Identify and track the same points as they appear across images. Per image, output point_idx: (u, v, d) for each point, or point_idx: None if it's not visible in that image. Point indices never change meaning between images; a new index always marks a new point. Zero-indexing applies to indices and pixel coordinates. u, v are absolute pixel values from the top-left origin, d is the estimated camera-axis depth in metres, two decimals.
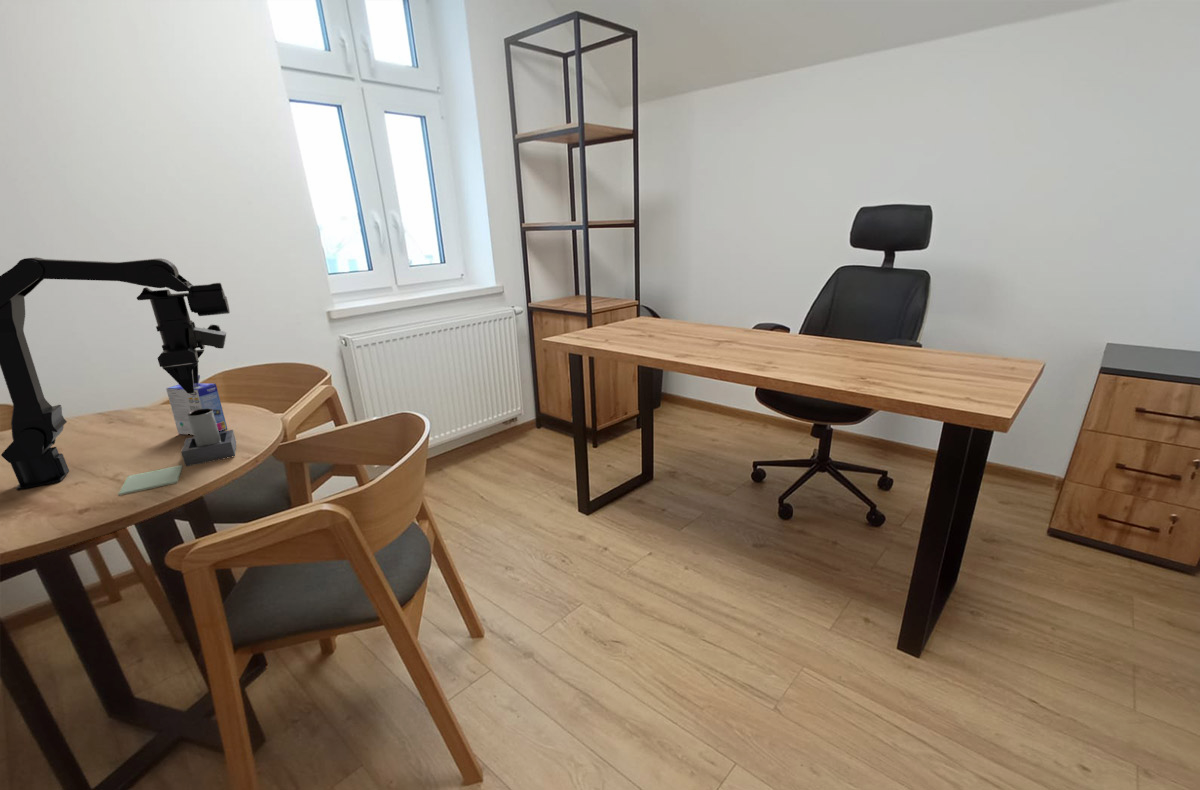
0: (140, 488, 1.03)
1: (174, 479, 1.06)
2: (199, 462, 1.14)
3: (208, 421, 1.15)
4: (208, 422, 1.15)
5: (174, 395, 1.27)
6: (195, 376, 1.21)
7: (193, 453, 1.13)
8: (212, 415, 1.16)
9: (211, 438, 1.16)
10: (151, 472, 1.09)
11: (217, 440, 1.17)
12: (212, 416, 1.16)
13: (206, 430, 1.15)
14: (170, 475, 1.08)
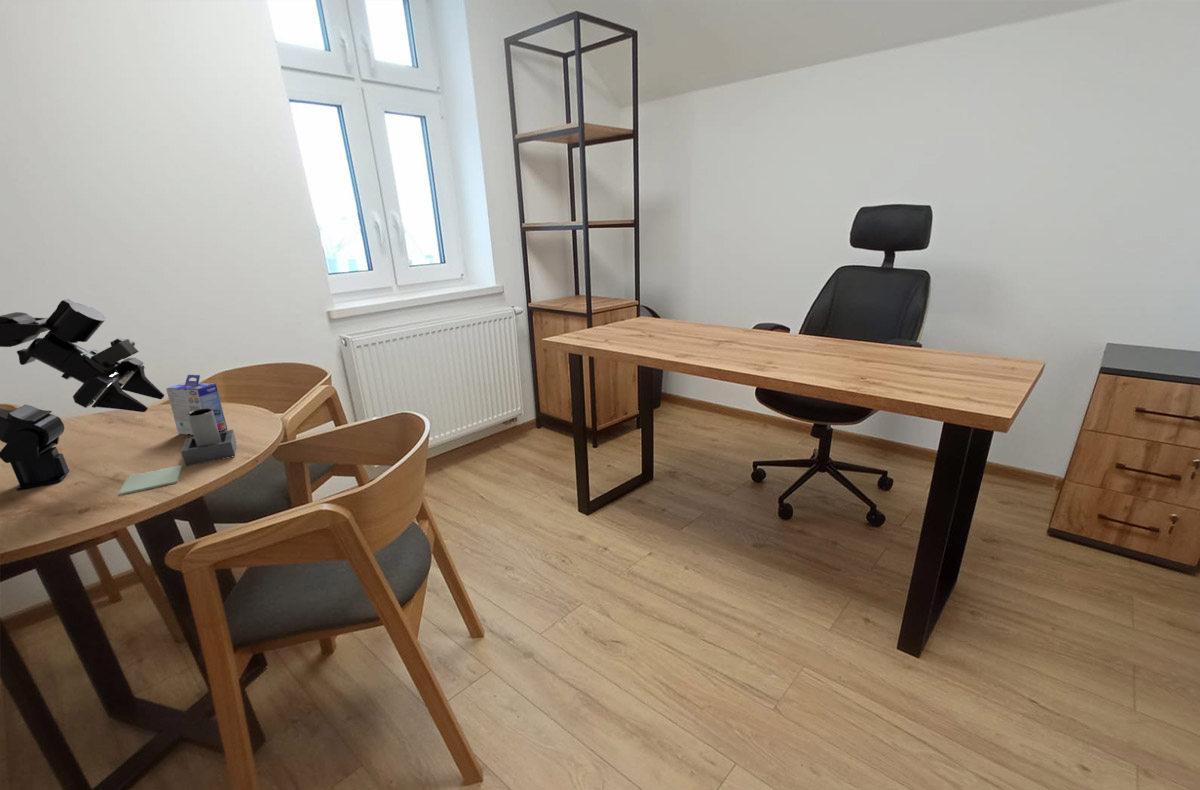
0: (140, 488, 1.03)
1: (174, 479, 1.06)
2: (199, 462, 1.14)
3: (208, 421, 1.15)
4: (208, 422, 1.15)
5: (174, 395, 1.27)
6: (156, 392, 1.15)
7: (193, 453, 1.13)
8: (212, 415, 1.16)
9: (211, 438, 1.16)
10: (151, 472, 1.09)
11: (217, 440, 1.17)
12: (212, 416, 1.16)
13: (206, 430, 1.15)
14: (170, 475, 1.08)
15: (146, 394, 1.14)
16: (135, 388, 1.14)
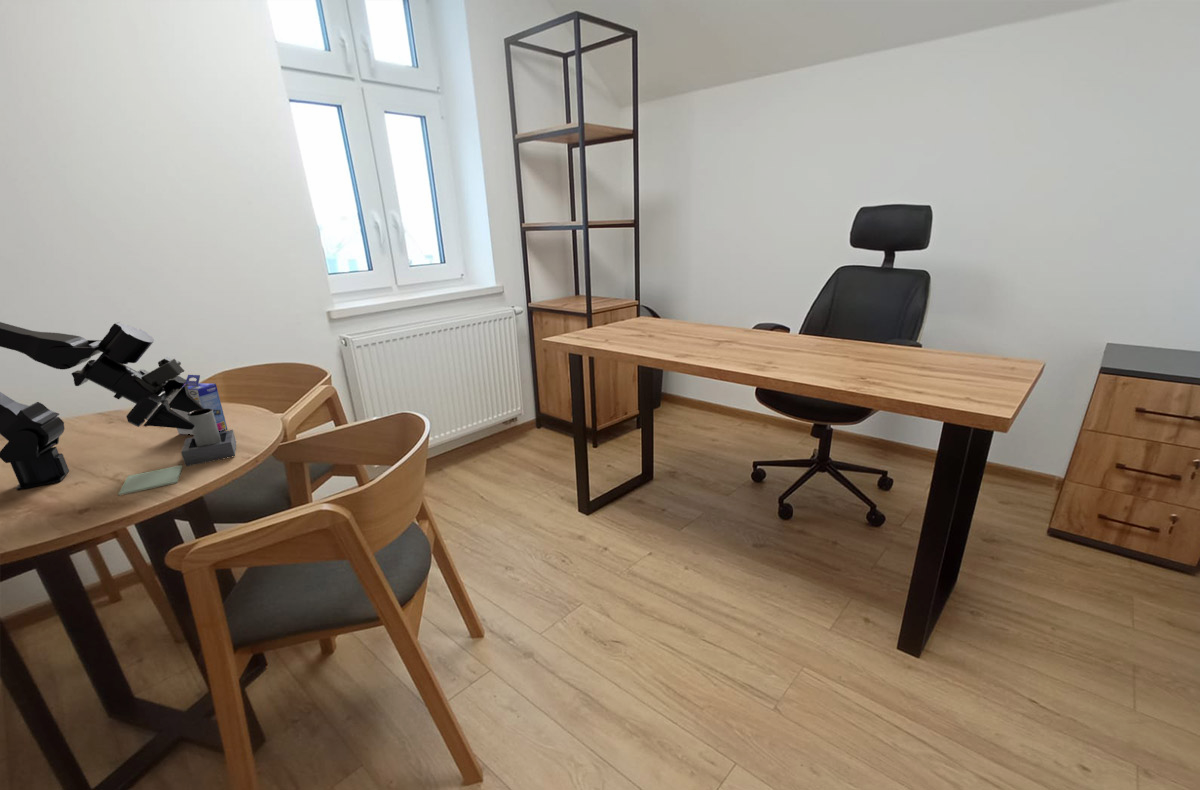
0: (140, 488, 1.03)
1: (174, 479, 1.06)
2: (199, 462, 1.14)
3: (208, 421, 1.15)
4: (208, 422, 1.15)
5: None
6: None
7: (193, 453, 1.13)
8: (212, 415, 1.16)
9: (211, 438, 1.16)
10: (151, 472, 1.09)
11: (217, 440, 1.17)
12: (212, 416, 1.16)
13: (206, 430, 1.15)
14: (170, 475, 1.08)
15: (190, 411, 1.18)
16: (180, 406, 1.18)
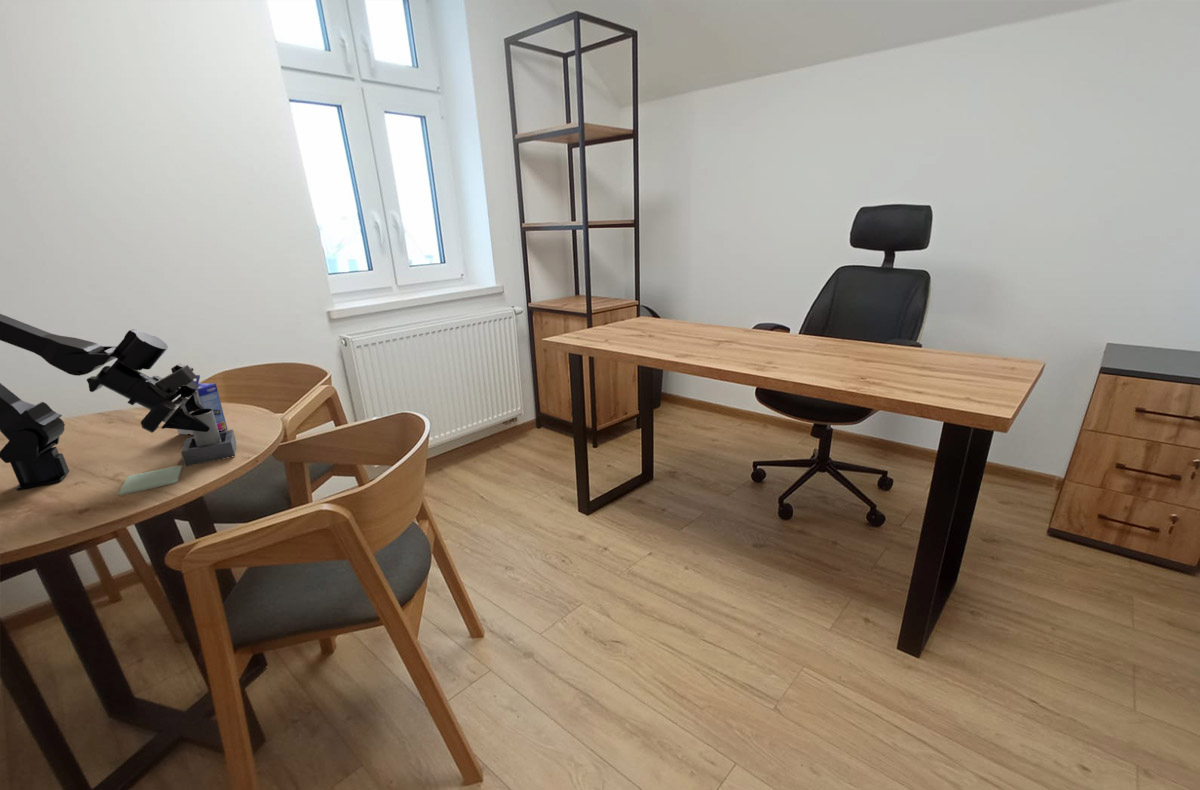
0: (140, 488, 1.03)
1: (174, 479, 1.06)
2: (199, 462, 1.14)
3: (208, 421, 1.15)
4: (208, 422, 1.15)
5: None
6: None
7: (193, 453, 1.13)
8: (212, 415, 1.16)
9: (211, 438, 1.16)
10: (151, 472, 1.09)
11: (217, 440, 1.17)
12: (212, 416, 1.16)
13: None
14: (170, 475, 1.08)
15: None
16: None
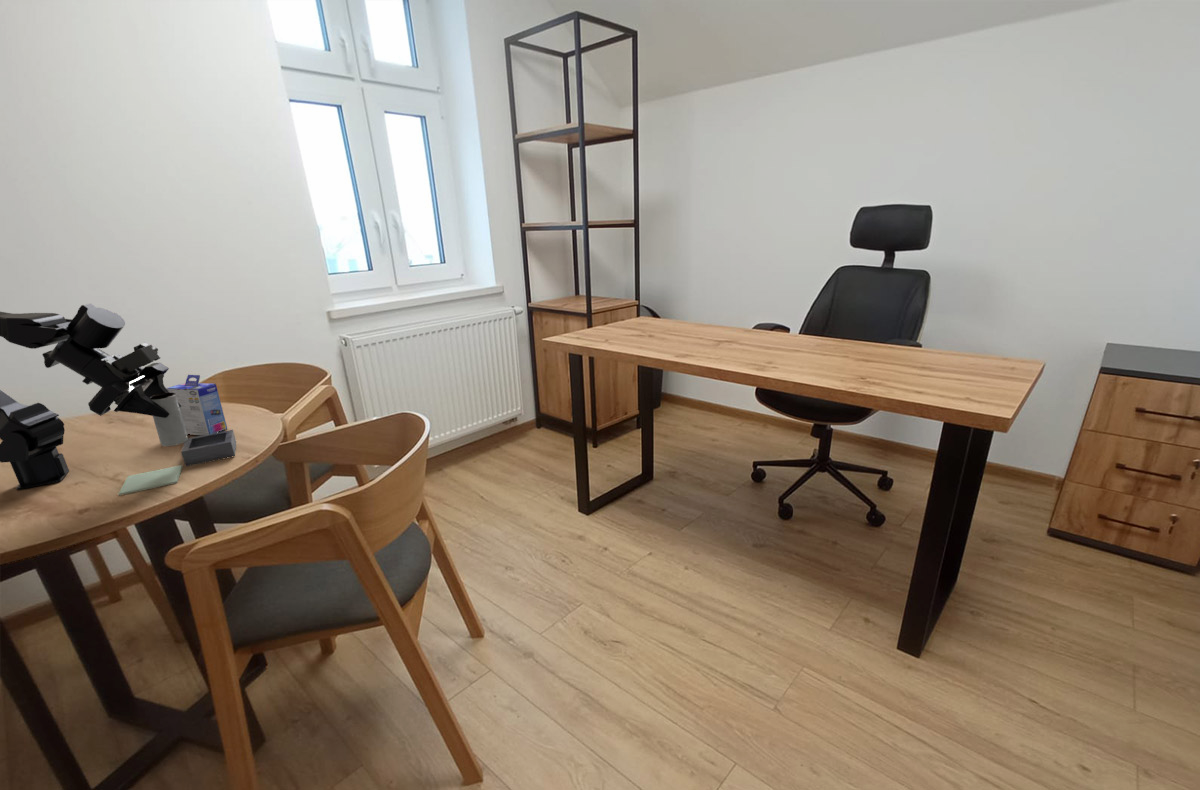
0: (140, 488, 1.03)
1: (174, 479, 1.06)
2: (199, 462, 1.14)
3: (168, 406, 1.06)
4: (169, 407, 1.06)
5: None
6: None
7: (193, 453, 1.13)
8: (174, 400, 1.07)
9: (171, 425, 1.07)
10: (151, 472, 1.09)
11: (179, 427, 1.09)
12: (174, 401, 1.07)
13: None
14: (170, 475, 1.08)
15: None
16: None
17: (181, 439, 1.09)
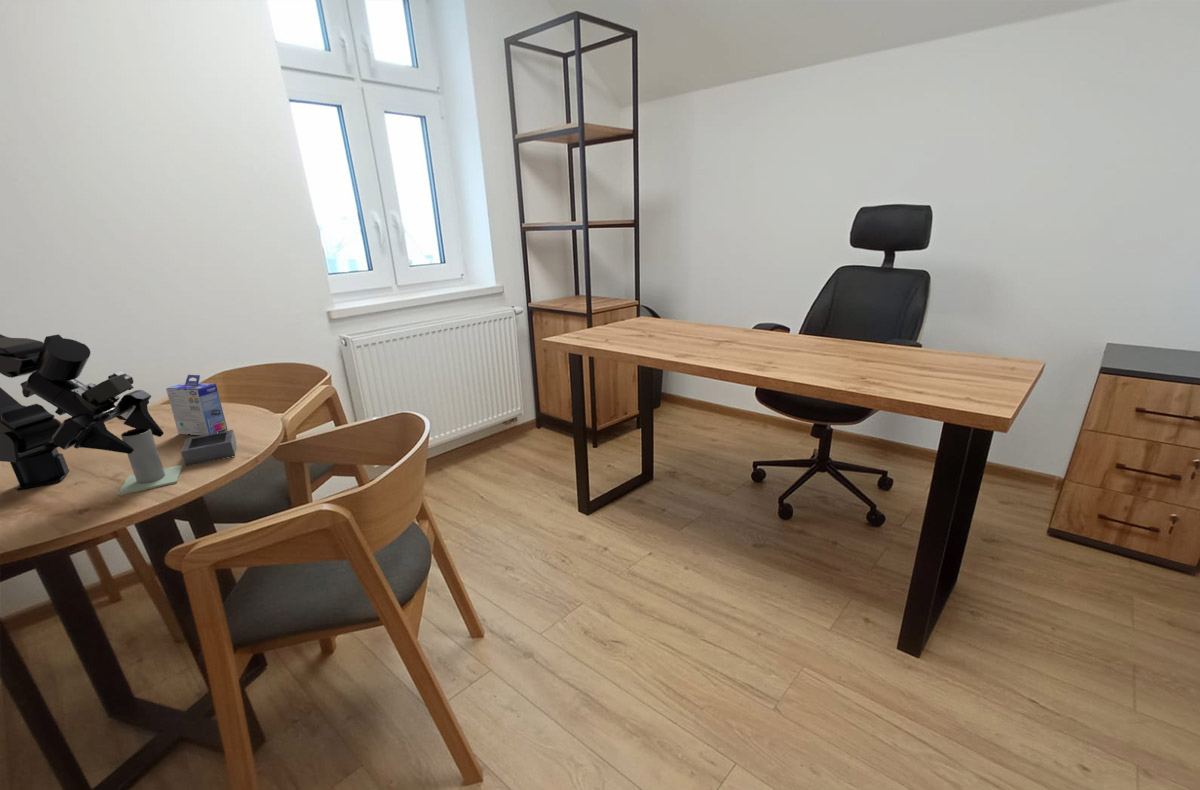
0: (140, 488, 1.03)
1: (174, 479, 1.06)
2: (199, 462, 1.14)
3: (140, 443, 1.03)
4: (141, 444, 1.03)
5: (174, 395, 1.27)
6: (155, 429, 1.08)
7: (193, 453, 1.13)
8: (147, 436, 1.03)
9: (144, 462, 1.04)
10: None
11: (153, 464, 1.05)
12: (147, 437, 1.04)
13: (138, 453, 1.03)
14: (170, 475, 1.08)
15: None
16: (136, 424, 1.07)
17: (155, 476, 1.05)
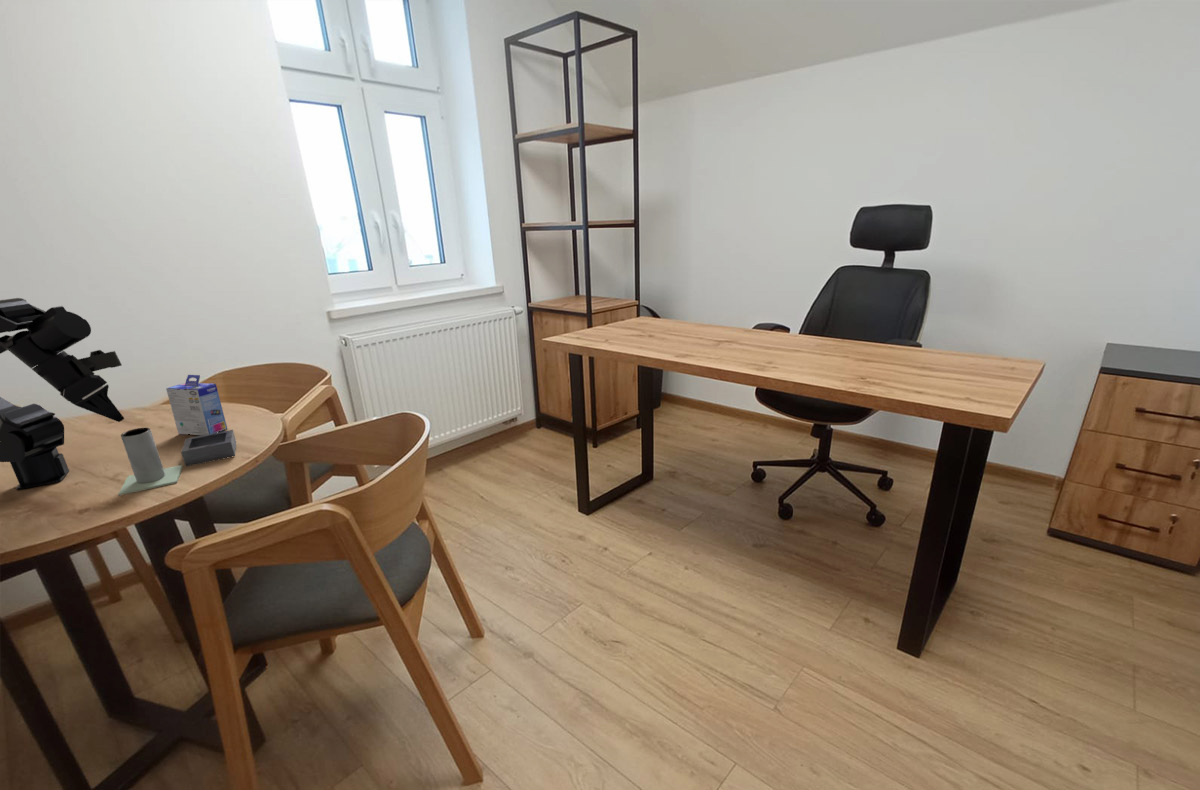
0: (140, 488, 1.03)
1: (174, 479, 1.06)
2: (199, 462, 1.14)
3: (140, 443, 1.03)
4: (141, 444, 1.03)
5: (174, 395, 1.27)
6: None
7: (193, 453, 1.13)
8: (147, 436, 1.03)
9: (144, 462, 1.04)
10: None
11: (153, 464, 1.05)
12: (147, 437, 1.04)
13: (138, 453, 1.03)
14: (170, 475, 1.08)
15: None
16: None
17: (155, 476, 1.05)
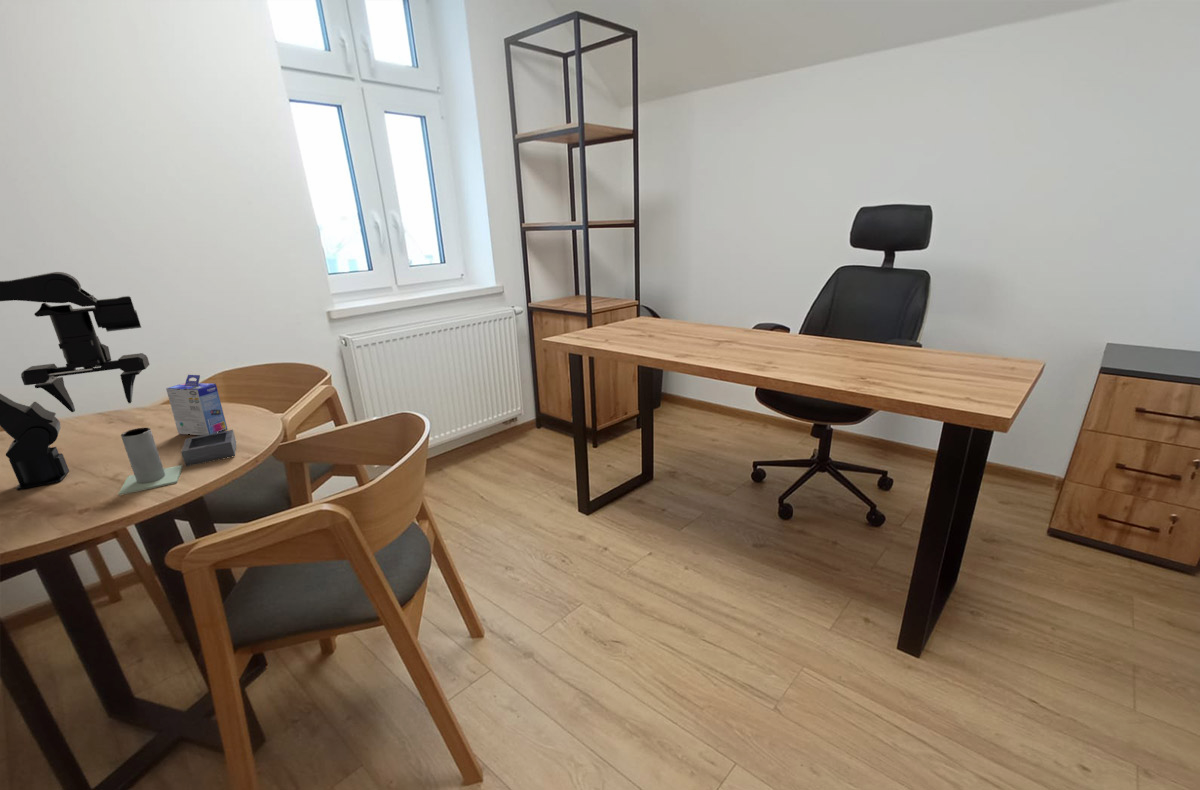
0: (140, 488, 1.03)
1: (174, 479, 1.06)
2: (199, 462, 1.14)
3: (140, 443, 1.03)
4: (141, 444, 1.03)
5: (174, 395, 1.27)
6: (72, 403, 1.09)
7: (193, 453, 1.13)
8: (147, 436, 1.03)
9: (144, 462, 1.04)
10: None
11: (153, 464, 1.05)
12: (147, 437, 1.04)
13: (138, 453, 1.03)
14: (170, 475, 1.08)
15: (67, 400, 1.08)
16: (61, 391, 1.07)
17: (156, 476, 1.05)
